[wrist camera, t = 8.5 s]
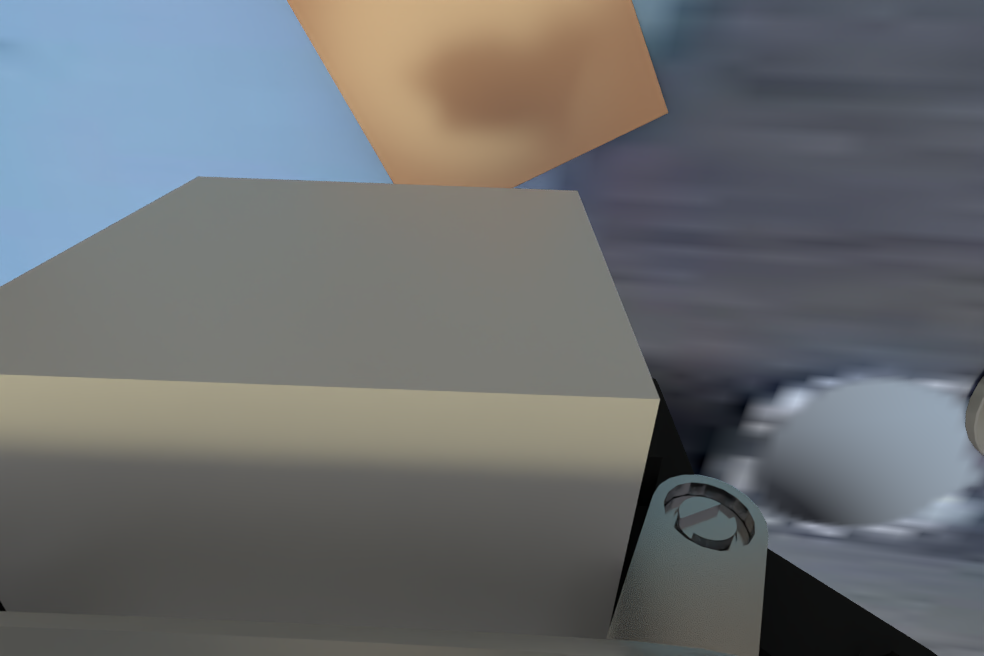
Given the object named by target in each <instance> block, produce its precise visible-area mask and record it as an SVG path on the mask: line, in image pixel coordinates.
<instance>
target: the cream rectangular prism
mask: <svg viewBox="0 0 984 656" xmlns="http://www.w3.org/2000/svg"><path fill="white" fill-rule="evenodd" d="M659 402H660V398H659V395H658V393H657V390H656V388H655V385H654V383H653V380H652V378H651V375H650V373H649V370H648V368H647V365H646V363H645V360H644V358H643V355H642V353H641V350H640V347H639V345H638V342H637V340H636V337H635V335H634V332H633V330H632V327H631V325H630V322H629V320H628V317H627V315H626V312H625V310H624V307H623V305H622V302H621V300H620V297H619V294H618V292H617V289H616V287H615V284H614V282H613V279H612V277H611V274H610V272H609V269H608V267H607V264H606V262H605V259H604V257H603V254H602V252H601V249H600V247H599V244H598V242H597V239H596V236H595V234H594V231H593V229H592V226H591V224H590V221H589V219H588V216H587V214H586V211H585V209H584V206H583V204H582V201H581V199H580V196H579V194H578V191H570V190H543V189H517V188H490V187H464V186H437V185H410V184H384V183H357V182H331V181H304V180H277V179H251V178H224V177H196V178H195V179H193V180H191V181H189V182H188V183H186V184H184V185H182V186H180V187H179V188H177V189H175V190H173V191H171V192H170V193H168V194H166V195H164V196H162V197H161V198H159V199H157V200H155V201H153V202H152V203H150V204H148V205H146V206H144V207H143V208H141V209H139V210H137V211H135V212H134V213H132V214H130V215H128V216H126V217H125V218H123V219H121V220H119V221H118V222H116V223H114V224H112V225H110V226H109V227H107V228H105V229H103V230H101V231H100V232H98V233H96V234H94V235H92V236H91V237H89V238H87V239H85V240H83V241H82V242H80V243H78V244H76V245H74V246H73V247H71V248H69V249H67V250H65V251H64V252H62V253H60V254H58V255H56V256H55V257H53V258H51V259H49V260H48V261H46V262H44V263H42V264H40V265H39V266H37V267H35V268H33V269H31V270H30V271H28V272H26V273H24V274H22V275H21V276H19V277H17V278H15V279H13V280H12V281H10V282H8V283H6V284H4V285H3V286H1V287H0V602H1V603H2V605H3V607H4V608H5V610H6V611H8V612H35V613H63V614H89V615H114V616H138V617H162V618H187V619H211V620H234V621H257V622H281V623H304V624H326V625H348V626H369V627H390V628H411V629H432V630H453V631H474V632H495V633H515V634H530V635H546V636H561V637H577V638H592V639H606V637H607V634H608V630H609V626H610V621H611V617H612V612H613V608H614V603H615V599H616V594H617V590H618V585H619V581H620V576H621V572H622V567H623V563H624V559H625V554H626V550H627V545H628V541H629V536H630V532H631V527H632V523H633V518H634V514H635V509H636V505H637V500H638V496H639V491H640V487H641V482H642V478H643V473H644V469H645V465H646V460H647V456H648V451H649V447H650V442H651V438H652V433H653V429H654V424H655V420H656V415H657V411H658V406H659Z"/></svg>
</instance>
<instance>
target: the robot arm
mask: <svg viewBox="0 0 984 656" xmlns="http://www.w3.org/2000/svg"><path fill="white" fill-rule="evenodd" d="M652 380H653V383H654V385H655V388H656V390H657V393H658V395H659V398H660V402H659V406H658V411H657V415H656V420H655V424H654V429H653V433H652V438H651V442H650V447H649V451H648V456H647V460H646V465H645V469H644V473H643V478H642V482H641V487H640V491H639V496H638V500H637V505H636V509H635V514H634V518H633V523H632V527H631V532H630V536H629V541H628V545H627V550H626V554H625V559H624V563H623V567H622V572H621V576H620V581H619V585H618V590H617V594H616V599H615V603H614V608H613V612H612V617H611V621H610V626H609V630H608V634H607V637H606V639H592V638H577V637H561V636H546V635H530V634H515V633H495V632H474V631H453V630H432V629H411V628H390V627H369V626H348V625H326V624H304V623H281V622H257V621H234V620H211V619H187V618H162V617H138V616H114V615H89V614H63V613H35V612H8V611H6V610H5V608H4V607H3V605H2V603H1V602H0V656H937V655H936V654H935V653H933V652H932V651H931V650H929V649H927V648H926V647H924V646H923V645H921V644H919V643H918V642H916V641H915V640H913V639H911V638H910V637H908V636H907V635H905V634H903V633H902V632H900V631H899V630H897V629H895V628H894V627H892V626H891V625H889V624H888V623H886V622H884V621H883V620H881V619H880V618H878V617H876V616H875V615H873V614H872V613H870V612H868V611H867V610H865V609H864V608H862V607H860V606H859V605H857V604H856V603H854V602H852V601H851V600H849V599H848V598H846V597H844V596H843V595H841V594H840V593H838V592H836V591H835V590H833V589H832V588H830V587H828V586H827V585H825V584H824V583H822V582H820V581H819V580H817V579H816V578H814V577H812V576H811V575H809V574H808V573H806V572H804V571H803V570H801V569H800V568H798V567H796V566H795V565H793V564H792V563H790V562H789V561H787V560H785V559H784V558H782V557H781V556H779V555H777V554H776V553H774V552H773V551H771V550H769V549H768V548H767V546H768V530H767V523H766V521H765V519H764V517H763V515H762V513H761V511H760V510H759V508H758V507H757V506H756V505H755V504H754V503H753V502H752V501H751V500H750V499H749V498H748V497H747V496H746V495H745V494H743V493H742V492H740V491H739V490H737V489H736V488H734V487H733V486H731V485H729V484H727V483H724V482H722V481H720V480H717V479H714V478H710V477H706V476H701V475H694V472H693V470H692V467H691V465H690V462H689V460H688V457H687V455H686V452H685V450H684V447H683V445H682V442H681V440H680V437H679V435H678V432H677V430H676V427H675V425H674V422H673V420H672V417H671V415H670V412H669V410H668V407H667V405H666V402H665V400H664V397H663V395H662V392H661V390H660V387H659V385H658V383H657V381H656V379H654V378H652ZM965 427H966V431H967V434H968V438H969V440H970V441H971V443H972V444H973V446H974V447H975V449H977V450H978V451H979V452H980V453H981V454H982V455H983V456H984V376H983V378H982V379H981V380H980V382H979V383H978V385H977V387H976V388H975V390H974V392H973V394H972V396H971V398H970V400H969V404H968V407H967V411H966V422H965Z"/></svg>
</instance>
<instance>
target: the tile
mask: <svg viewBox="0 0 984 656" xmlns="http://www.w3.org/2000/svg"><path fill="white" fill-rule="evenodd" d="M287 1H288V3H289V5H290V7H291V8H292V10H293V12H294V13H295V15H296V17H297V19H298V20H299V22H300V24H301V25H302V27H303V29H304V31H305V32H306V34H307V36H308V37H309V39H310V41H311V43H312V44H313V46H314V48H315V49H316V51H317V53H318V55H319V56H320V58H321V60H322V61H323V63H324V65H325V67H326V68H327V70H328V72H329V73H330V75H331V77H332V79H333V80H334V82H335V84H336V85H337V87H338V89H339V91H340V92H341V94H342V96H343V97H344V99H345V101H346V103H347V104H348V106H349V108H350V109H351V111H352V113H353V115H354V116H355V118H356V120H357V121H358V123H359V125H360V127H361V128H362V130H363V132H364V133H365V135H366V137H367V139H368V140H369V142H370V144H371V145H372V147H373V149H374V151H375V152H376V154H377V156H378V157H379V159H380V161H381V163H382V164H383V166H384V168H385V169H386V171H387V173H388V175H389V176H390V178H391V180H392V181H393V183H394V184H410V185H437V186H464V187H490V188H513V187H515V186H518V185H520V184H522V183H524V182H526V181H528V180H530V179H532V178H534V177H536V176H538V175H540V174H542V173H545V172H547V171H549V170H551V169H553V168H555V167H557V166H559V165H561V164H563V163H565V162H567V161H569V160H571V159H574V158H576V157H578V156H580V155H582V154H584V153H586V152H588V151H590V150H592V149H594V148H596V147H598V146H600V145H603V144H605V143H607V142H609V141H611V140H613V139H615V138H617V137H619V136H621V135H623V134H625V133H627V132H630V131H632V130H634V129H636V128H638V127H640V126H642V125H644V124H646V123H648V122H650V121H652V120H654V119H656V118H659V117H661V116H663V115H665V114H667V113H668V110H667V107H666V104H665V101H664V98H663V95H662V92H661V89H660V86H659V83H658V80H657V77H656V74H655V71H654V67H653V64H652V61H651V58H650V55H649V52H648V49H647V46H646V43H645V40H644V37H643V34H642V31H641V28H640V25H639V22H638V18H637V15H636V12H635V9H634V6H633V3H632V0H287Z"/></svg>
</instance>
